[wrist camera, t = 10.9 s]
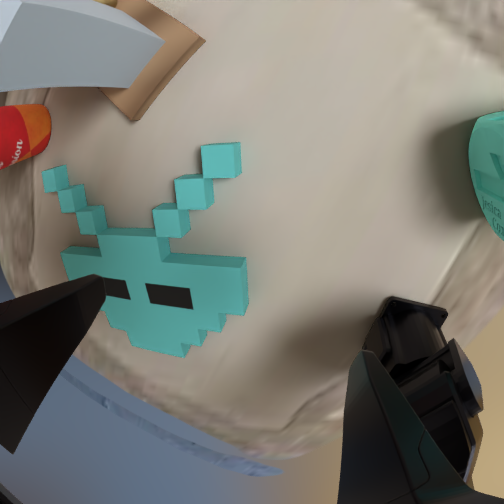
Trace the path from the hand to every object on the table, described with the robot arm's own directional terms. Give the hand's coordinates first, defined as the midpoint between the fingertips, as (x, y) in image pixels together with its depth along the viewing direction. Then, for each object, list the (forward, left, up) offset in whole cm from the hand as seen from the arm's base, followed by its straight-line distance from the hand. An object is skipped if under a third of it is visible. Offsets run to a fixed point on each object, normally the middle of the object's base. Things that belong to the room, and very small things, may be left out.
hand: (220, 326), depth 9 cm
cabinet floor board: (+13, -11, -13) cm, 22 cm away
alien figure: (+11, +8, -14) cm, 19 cm away
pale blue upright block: (+13, -11, -12) cm, 21 cm away
